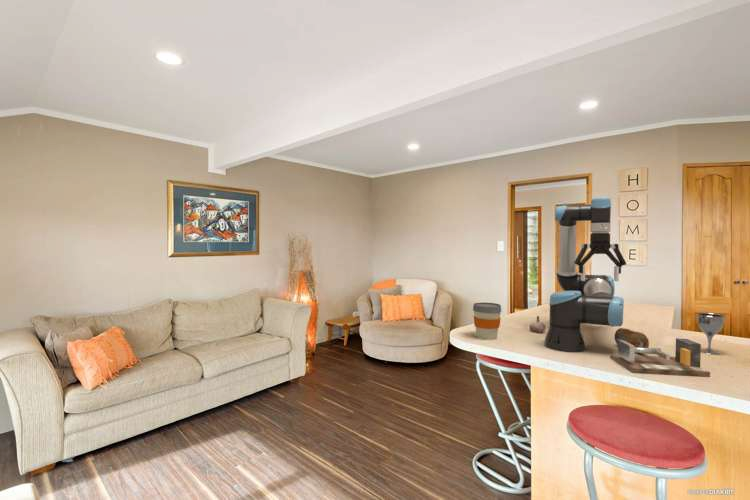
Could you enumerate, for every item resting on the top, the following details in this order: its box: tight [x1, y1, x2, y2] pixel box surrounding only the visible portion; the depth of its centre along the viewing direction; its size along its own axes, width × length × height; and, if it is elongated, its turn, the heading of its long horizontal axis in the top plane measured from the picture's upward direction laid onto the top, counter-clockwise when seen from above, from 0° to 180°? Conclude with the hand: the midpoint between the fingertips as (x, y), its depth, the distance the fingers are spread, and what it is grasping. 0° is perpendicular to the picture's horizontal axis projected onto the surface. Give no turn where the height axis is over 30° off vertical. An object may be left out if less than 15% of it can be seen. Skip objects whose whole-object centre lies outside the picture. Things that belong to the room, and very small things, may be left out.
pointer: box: [680, 348, 690, 366], centre depth 124 cm, size 1×3×5 cm, turn 171°
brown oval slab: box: [614, 327, 650, 348], centre depth 150 cm, size 15×3×8 cm, turn 6°
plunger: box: [617, 340, 671, 362], centre depth 129 cm, size 12×11×6 cm
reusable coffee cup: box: [472, 302, 502, 340], centre depth 170 cm, size 13×13×15 cm
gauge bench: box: [609, 337, 711, 378], centre depth 130 cm, size 23×16×10 cm
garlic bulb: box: [529, 315, 547, 334], centre depth 181 cm, size 8×7×8 cm
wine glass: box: [696, 312, 725, 356], centre depth 148 cm, size 8×8×15 cm
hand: (599, 281), depth 163 cm, fingers open, 13 cm apart
